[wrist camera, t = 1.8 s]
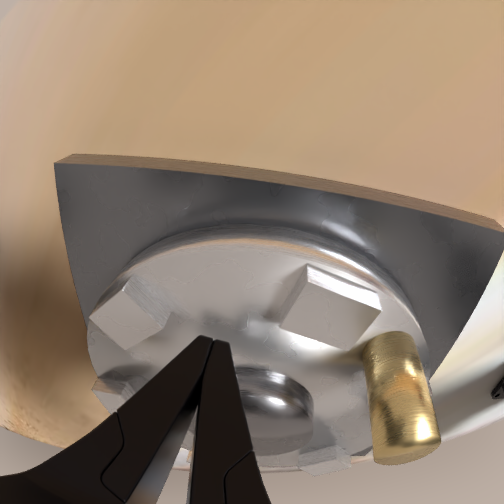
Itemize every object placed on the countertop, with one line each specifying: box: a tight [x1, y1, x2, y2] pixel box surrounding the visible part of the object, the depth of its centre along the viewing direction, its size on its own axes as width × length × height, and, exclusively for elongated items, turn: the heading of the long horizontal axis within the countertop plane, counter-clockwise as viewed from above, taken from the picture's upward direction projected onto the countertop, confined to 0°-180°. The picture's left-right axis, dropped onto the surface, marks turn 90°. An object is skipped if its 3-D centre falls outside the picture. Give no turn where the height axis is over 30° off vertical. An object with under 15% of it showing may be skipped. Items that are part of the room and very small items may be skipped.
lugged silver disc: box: [87, 223, 441, 476], centre depth 13 cm, size 17×17×6 cm
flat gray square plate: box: [54, 154, 504, 456], centre depth 16 cm, size 20×20×2 cm
